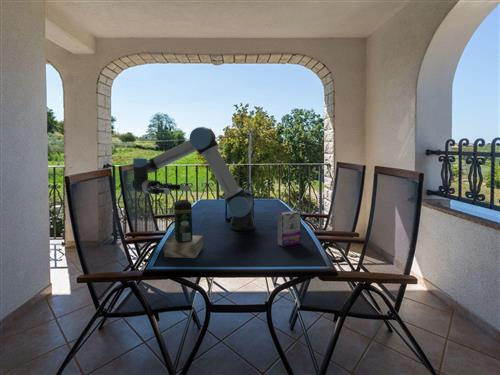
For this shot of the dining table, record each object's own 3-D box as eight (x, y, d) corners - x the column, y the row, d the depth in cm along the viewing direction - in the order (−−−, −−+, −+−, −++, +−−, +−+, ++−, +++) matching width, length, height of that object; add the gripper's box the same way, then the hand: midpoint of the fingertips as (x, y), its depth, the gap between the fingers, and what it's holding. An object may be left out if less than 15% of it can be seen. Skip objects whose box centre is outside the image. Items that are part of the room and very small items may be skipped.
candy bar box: (294, 241, 161) (295, 210, 158) (300, 243, 156) (301, 212, 154) (276, 244, 156) (277, 212, 153) (282, 247, 151) (282, 214, 149)
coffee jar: (174, 237, 146) (173, 199, 143) (191, 236, 148) (190, 198, 146) (175, 243, 137) (174, 202, 134) (193, 242, 139) (192, 201, 137)
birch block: (202, 247, 150) (202, 235, 149) (195, 258, 136) (194, 244, 135) (174, 246, 151) (174, 234, 150) (164, 256, 137) (164, 243, 136)
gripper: (170, 190, 179) (196, 194, 167) (132, 196, 159) (160, 200, 147) (169, 178, 178) (196, 180, 166) (132, 182, 158) (159, 185, 146)
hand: (179, 190), depth 156 cm, fingers open, 13 cm apart
